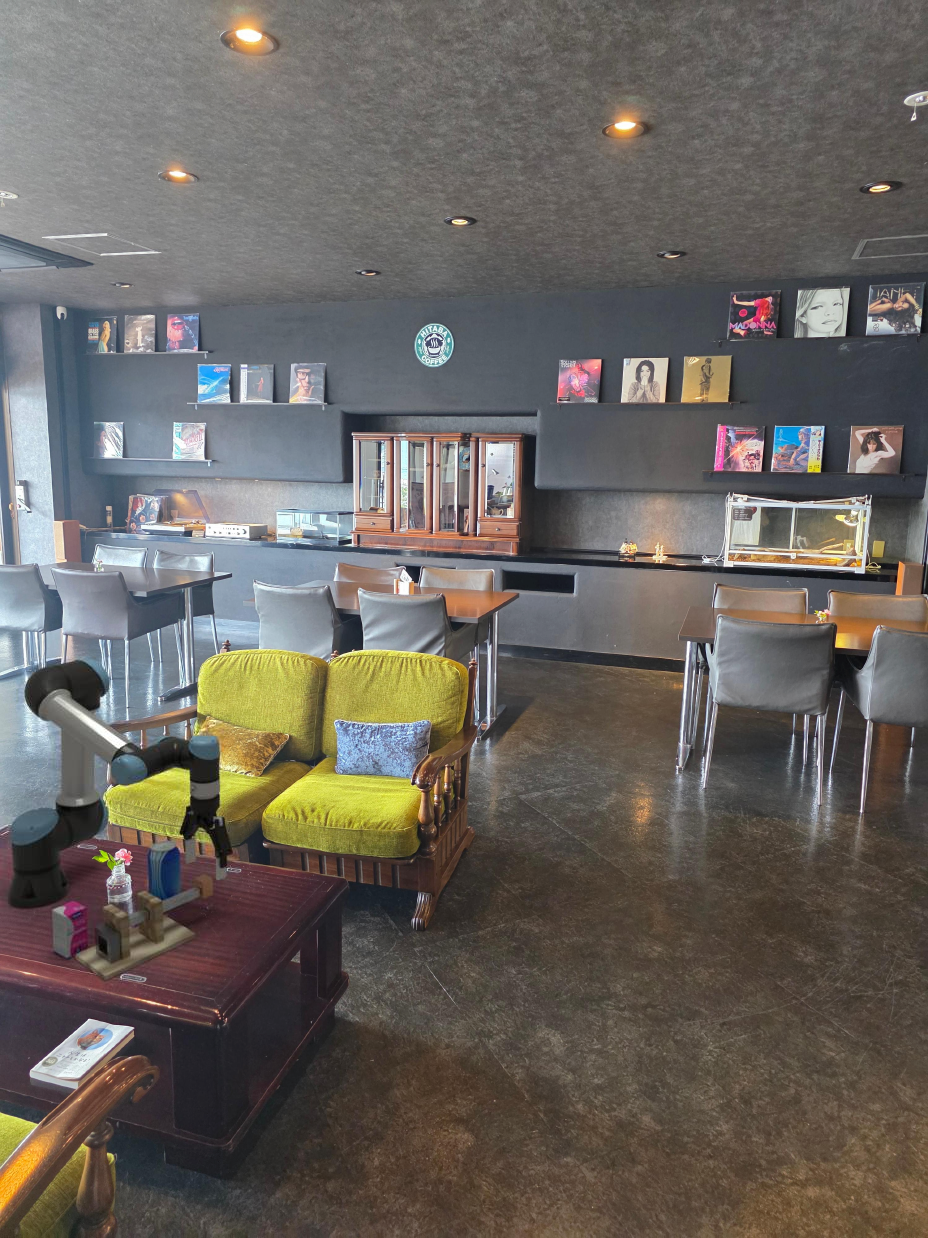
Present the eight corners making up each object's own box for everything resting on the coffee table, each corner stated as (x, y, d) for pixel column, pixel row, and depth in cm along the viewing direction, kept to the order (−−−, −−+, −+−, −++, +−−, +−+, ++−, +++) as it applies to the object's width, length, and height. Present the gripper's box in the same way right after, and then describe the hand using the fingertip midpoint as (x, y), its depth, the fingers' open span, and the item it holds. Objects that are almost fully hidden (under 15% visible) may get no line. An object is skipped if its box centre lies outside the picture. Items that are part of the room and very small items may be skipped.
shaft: (123, 924, 201) (122, 907, 201) (204, 890, 220) (203, 874, 219) (132, 930, 199) (131, 913, 198) (213, 894, 217) (212, 879, 216)
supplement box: (67, 960, 197) (64, 916, 195) (53, 953, 200) (50, 909, 198) (89, 949, 202) (87, 906, 200) (75, 942, 205) (72, 899, 203)
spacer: (96, 953, 198) (94, 926, 197) (105, 949, 200) (104, 922, 199) (111, 964, 194) (109, 937, 193) (120, 959, 196) (119, 932, 195)
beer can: (171, 909, 222) (168, 854, 219) (143, 905, 224) (140, 850, 221) (187, 894, 230) (185, 841, 227) (160, 891, 232) (158, 837, 229)
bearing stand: (75, 959, 198) (72, 913, 196) (164, 919, 217) (162, 877, 215) (105, 981, 189) (103, 933, 188) (195, 938, 208) (194, 894, 206)
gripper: (165, 785, 218) (166, 859, 222) (221, 811, 203) (222, 890, 207) (189, 778, 224) (190, 850, 228) (246, 803, 209) (246, 880, 213)
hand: (205, 870), depth 217 cm, fingers open, 13 cm apart
